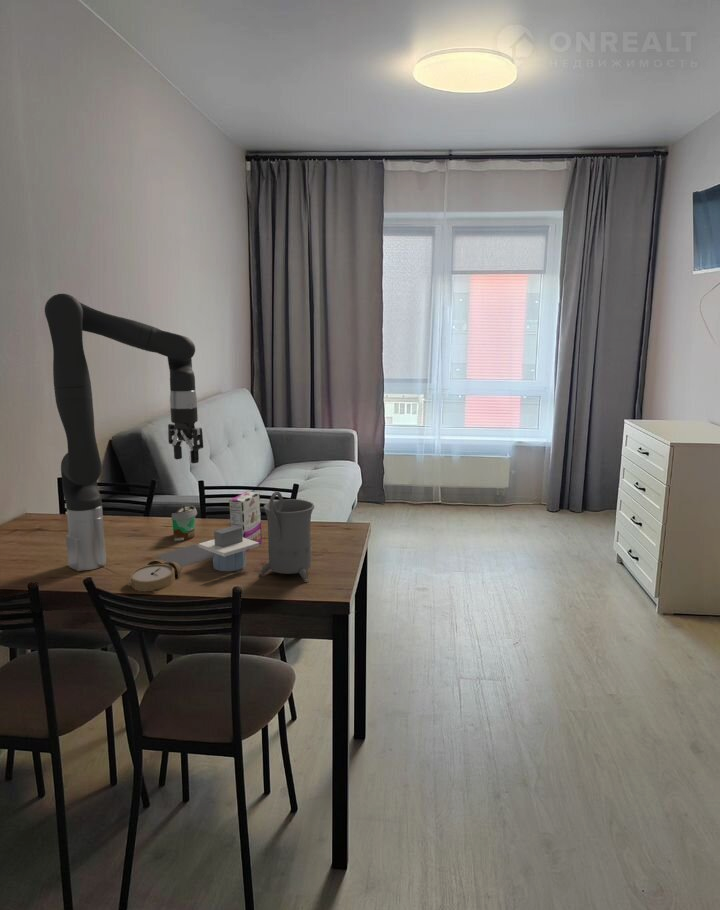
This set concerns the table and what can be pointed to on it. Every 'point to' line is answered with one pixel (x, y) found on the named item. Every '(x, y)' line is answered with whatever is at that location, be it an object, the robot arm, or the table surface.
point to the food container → (184, 523)
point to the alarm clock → (154, 575)
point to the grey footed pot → (288, 535)
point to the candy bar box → (247, 515)
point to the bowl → (229, 561)
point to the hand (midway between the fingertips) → (186, 460)
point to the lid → (228, 542)
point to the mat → (186, 555)
